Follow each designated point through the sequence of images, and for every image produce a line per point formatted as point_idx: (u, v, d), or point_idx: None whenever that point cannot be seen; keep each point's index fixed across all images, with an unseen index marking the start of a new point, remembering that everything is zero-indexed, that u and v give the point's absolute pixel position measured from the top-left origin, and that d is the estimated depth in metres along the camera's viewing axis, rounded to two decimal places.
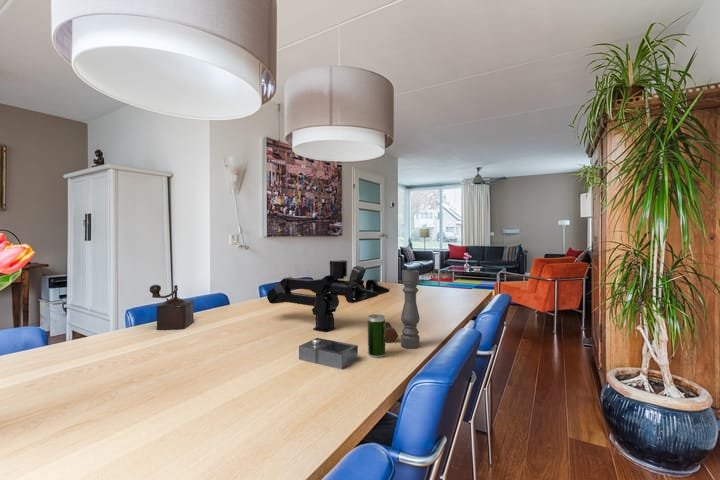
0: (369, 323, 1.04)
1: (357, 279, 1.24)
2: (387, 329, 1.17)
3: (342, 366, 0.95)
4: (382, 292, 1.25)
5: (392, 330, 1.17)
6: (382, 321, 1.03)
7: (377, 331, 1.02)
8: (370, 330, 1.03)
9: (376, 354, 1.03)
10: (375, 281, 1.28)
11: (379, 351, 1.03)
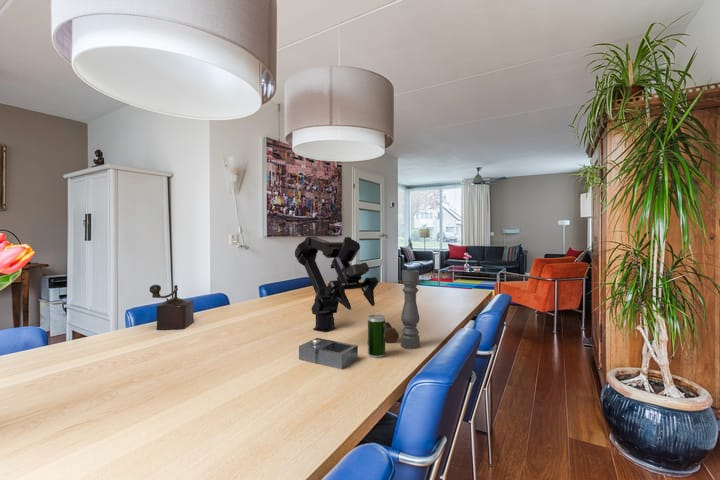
0: (369, 323, 1.04)
1: (351, 276, 1.14)
2: (388, 329, 1.17)
3: (342, 366, 0.95)
4: (369, 300, 1.16)
5: (393, 330, 1.17)
6: (382, 321, 1.03)
7: (377, 331, 1.02)
8: (370, 330, 1.03)
9: (376, 354, 1.03)
10: (372, 285, 1.17)
11: (379, 351, 1.03)
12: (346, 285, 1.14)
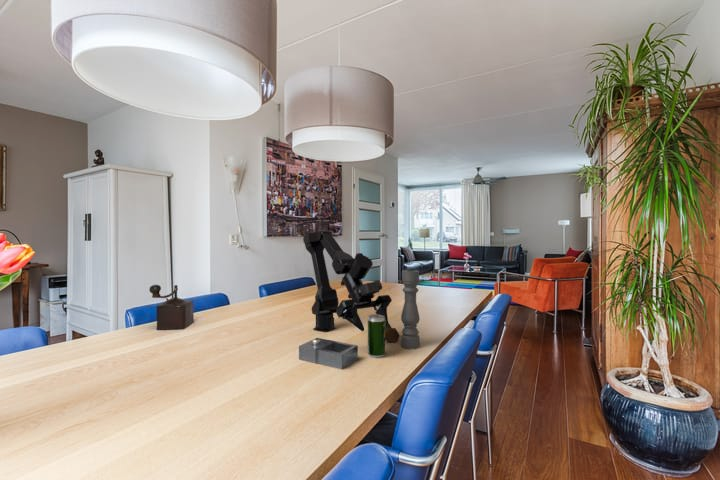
0: (369, 323, 1.04)
1: (364, 295, 1.08)
2: (389, 329, 1.16)
3: (342, 366, 0.95)
4: None
5: (394, 330, 1.16)
6: (382, 321, 1.03)
7: (377, 331, 1.02)
8: (370, 330, 1.03)
9: (376, 354, 1.03)
10: (385, 303, 1.11)
11: (379, 351, 1.03)
12: (358, 304, 1.08)
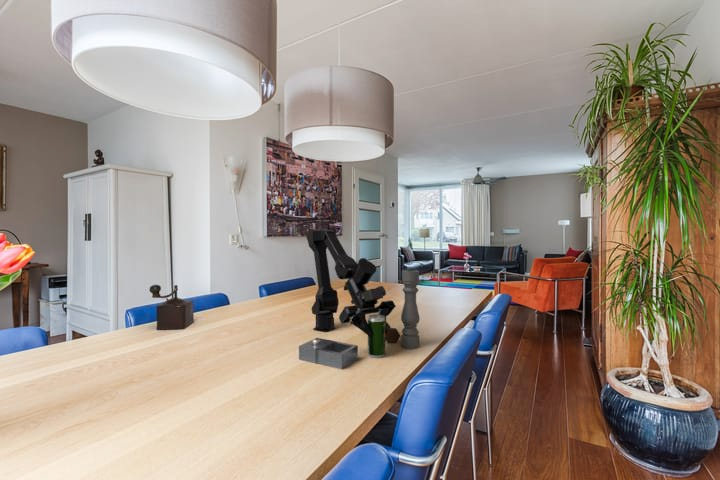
0: (369, 323, 1.04)
1: (367, 301, 1.06)
2: (389, 330, 1.16)
3: (342, 366, 0.95)
4: None
5: (394, 330, 1.16)
6: (382, 321, 1.03)
7: (377, 331, 1.02)
8: None
9: (376, 354, 1.03)
10: (385, 310, 1.08)
11: (379, 351, 1.03)
12: (366, 309, 1.08)
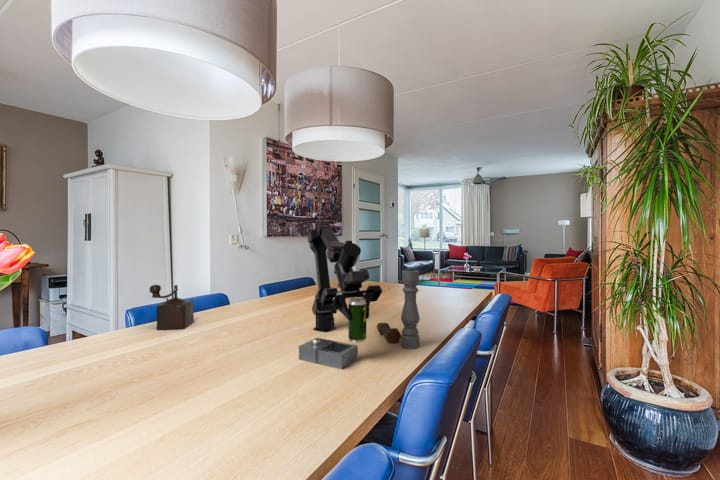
0: (349, 306, 1.01)
1: (349, 284, 1.04)
2: (391, 330, 1.16)
3: (342, 366, 0.95)
4: None
5: (395, 331, 1.16)
6: (361, 305, 1.00)
7: (356, 315, 0.99)
8: None
9: (355, 338, 1.00)
10: (369, 294, 1.05)
11: (357, 336, 0.99)
12: (349, 293, 1.05)
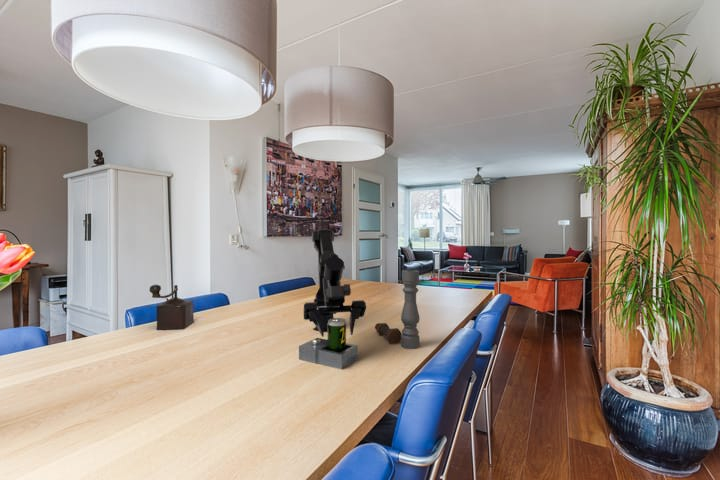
0: None
1: (331, 298, 1.02)
2: (392, 330, 1.16)
3: (342, 366, 0.95)
4: (350, 327, 1.02)
5: (397, 331, 1.16)
6: (338, 326, 0.98)
7: (333, 336, 0.98)
8: (328, 334, 0.99)
9: None
10: (355, 310, 1.03)
11: None
12: (327, 308, 1.03)
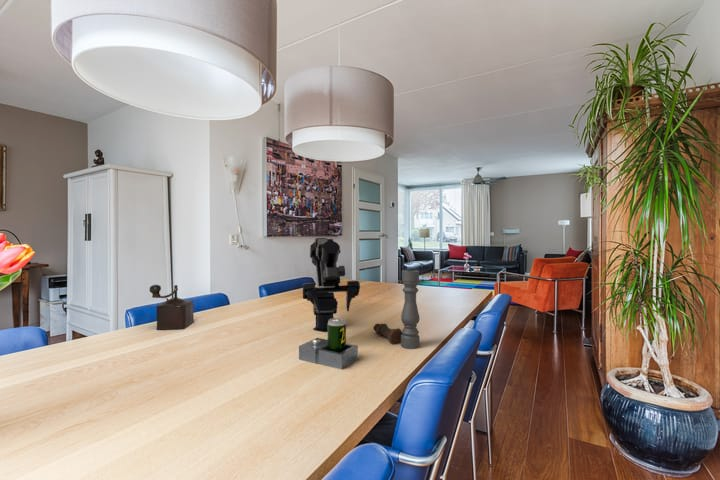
0: None
1: (327, 279, 1.12)
2: (394, 330, 1.15)
3: (342, 366, 0.95)
4: None
5: (398, 331, 1.16)
6: (338, 326, 0.98)
7: (333, 336, 0.98)
8: (328, 334, 0.99)
9: None
10: (351, 289, 1.12)
11: None
12: (322, 288, 1.13)
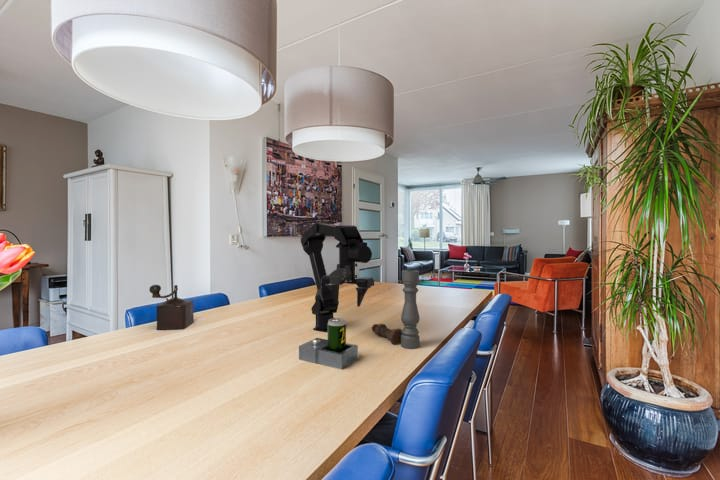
0: None
1: None
2: (395, 331, 1.15)
3: (342, 366, 0.95)
4: None
5: (399, 331, 1.16)
6: (338, 326, 0.98)
7: (333, 336, 0.98)
8: (328, 334, 0.99)
9: None
10: (359, 289, 1.15)
11: None
12: None
